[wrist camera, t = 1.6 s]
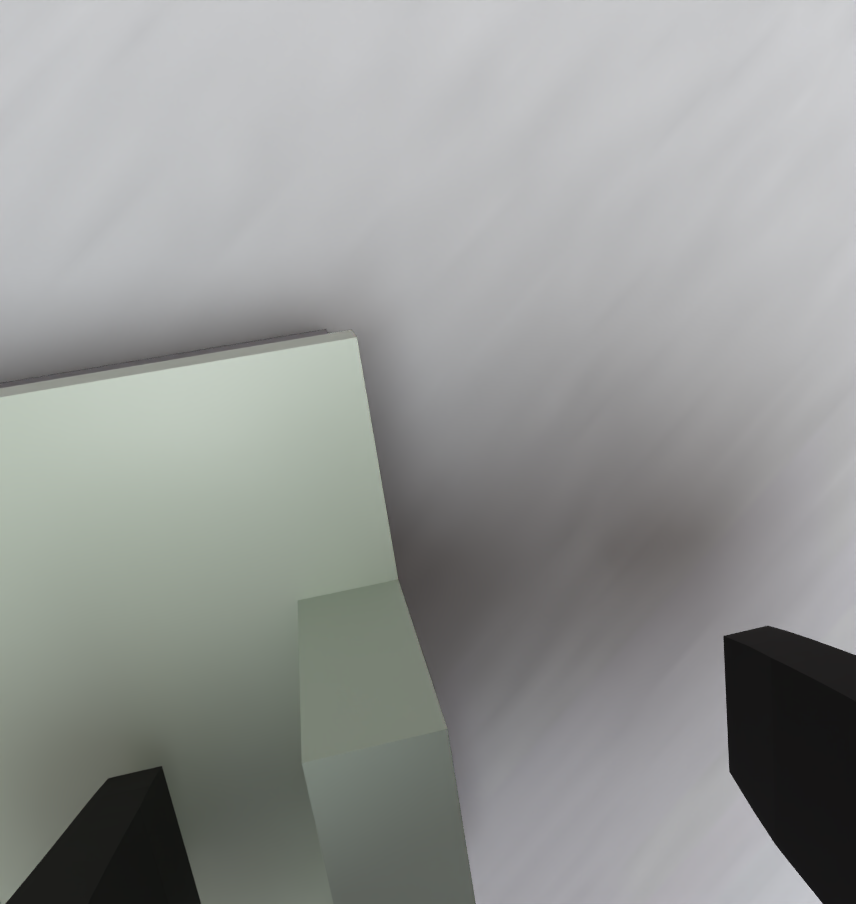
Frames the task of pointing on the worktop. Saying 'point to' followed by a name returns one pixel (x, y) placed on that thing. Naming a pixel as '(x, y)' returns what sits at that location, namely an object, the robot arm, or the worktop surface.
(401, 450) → the worktop surface
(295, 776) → the lid
